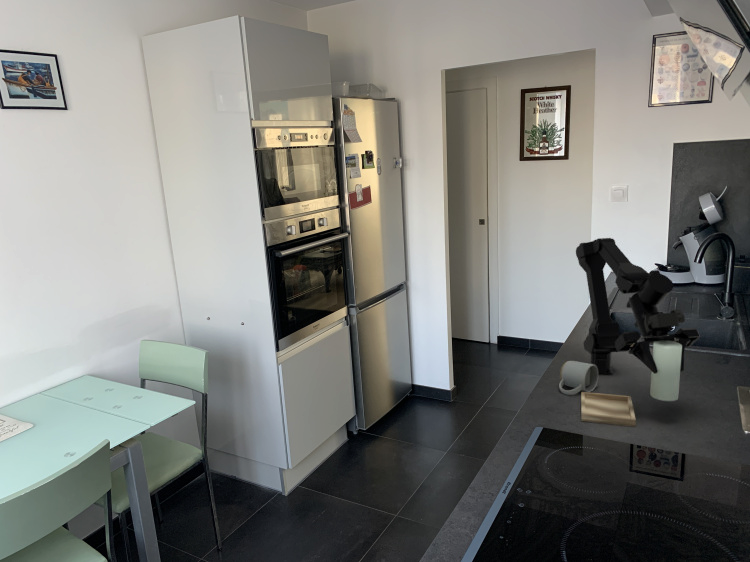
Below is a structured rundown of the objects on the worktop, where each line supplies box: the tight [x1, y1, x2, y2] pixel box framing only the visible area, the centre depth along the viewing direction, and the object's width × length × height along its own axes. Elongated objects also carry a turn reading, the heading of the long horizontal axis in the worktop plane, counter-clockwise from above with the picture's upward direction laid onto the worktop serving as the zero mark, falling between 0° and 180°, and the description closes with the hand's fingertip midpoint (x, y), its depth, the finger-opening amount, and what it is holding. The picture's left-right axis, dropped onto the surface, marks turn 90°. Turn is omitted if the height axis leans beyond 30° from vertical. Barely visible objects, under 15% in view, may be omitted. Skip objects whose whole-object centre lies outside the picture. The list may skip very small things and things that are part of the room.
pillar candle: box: [649, 340, 682, 402], centre depth 133 cm, size 6×6×13 cm
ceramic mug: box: [558, 360, 599, 396], centre depth 155 cm, size 11×8×8 cm
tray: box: [580, 391, 637, 428], centre depth 141 cm, size 14×12×2 cm
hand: (669, 372), depth 132 cm, fingers closed on pillar candle, 6 cm apart
